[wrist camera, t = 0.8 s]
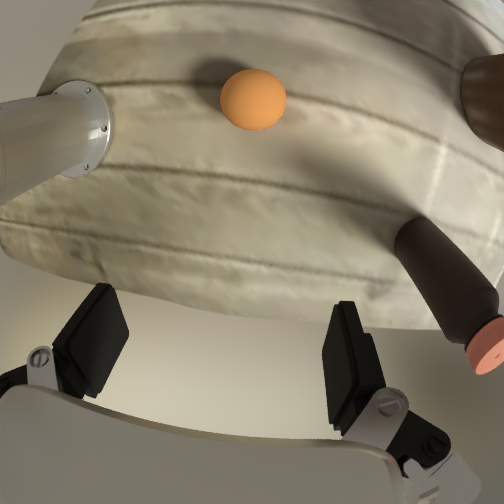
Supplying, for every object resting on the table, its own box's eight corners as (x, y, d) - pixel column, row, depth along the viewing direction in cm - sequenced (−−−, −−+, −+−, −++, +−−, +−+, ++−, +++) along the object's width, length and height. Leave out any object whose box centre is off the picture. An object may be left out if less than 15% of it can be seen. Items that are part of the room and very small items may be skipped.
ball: (221, 123, 27) (210, 128, 21) (229, 69, 24) (219, 61, 18) (279, 132, 27) (282, 138, 22) (288, 78, 24) (293, 70, 19)
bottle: (440, 248, 32) (518, 354, 15) (400, 270, 34) (464, 391, 17) (430, 208, 29) (530, 311, 12) (386, 231, 31) (467, 356, 14)
